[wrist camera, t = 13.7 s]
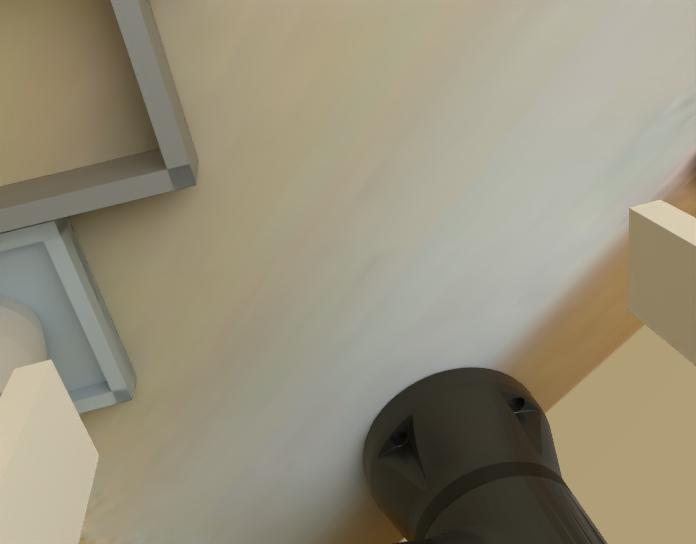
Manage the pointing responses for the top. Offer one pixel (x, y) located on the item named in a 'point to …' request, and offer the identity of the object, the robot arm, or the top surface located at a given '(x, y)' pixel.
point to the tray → (67, 312)
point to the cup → (19, 338)
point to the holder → (124, 173)
